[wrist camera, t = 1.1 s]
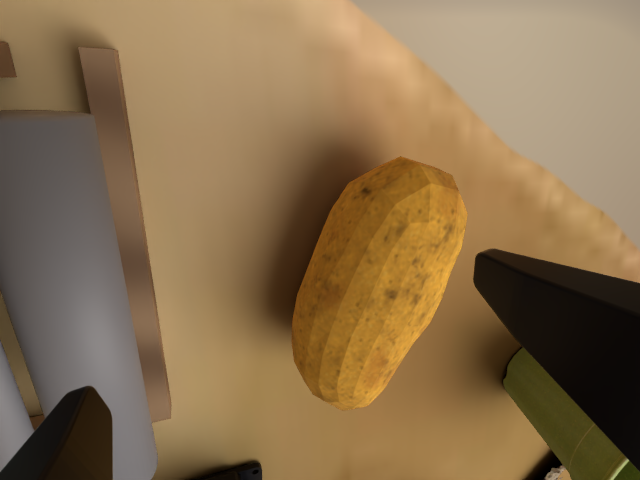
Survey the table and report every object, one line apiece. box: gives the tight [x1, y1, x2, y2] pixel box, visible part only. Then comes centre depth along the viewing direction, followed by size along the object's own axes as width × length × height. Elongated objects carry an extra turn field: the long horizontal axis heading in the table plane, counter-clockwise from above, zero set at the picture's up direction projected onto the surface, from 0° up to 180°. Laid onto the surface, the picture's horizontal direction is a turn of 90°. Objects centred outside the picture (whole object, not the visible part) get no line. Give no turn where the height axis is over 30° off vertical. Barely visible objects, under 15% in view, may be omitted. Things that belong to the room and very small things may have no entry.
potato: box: [292, 156, 467, 410], centre depth 21 cm, size 7×14×7 cm, turn 156°
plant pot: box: [503, 348, 640, 480], centre depth 31 cm, size 12×12×11 cm
